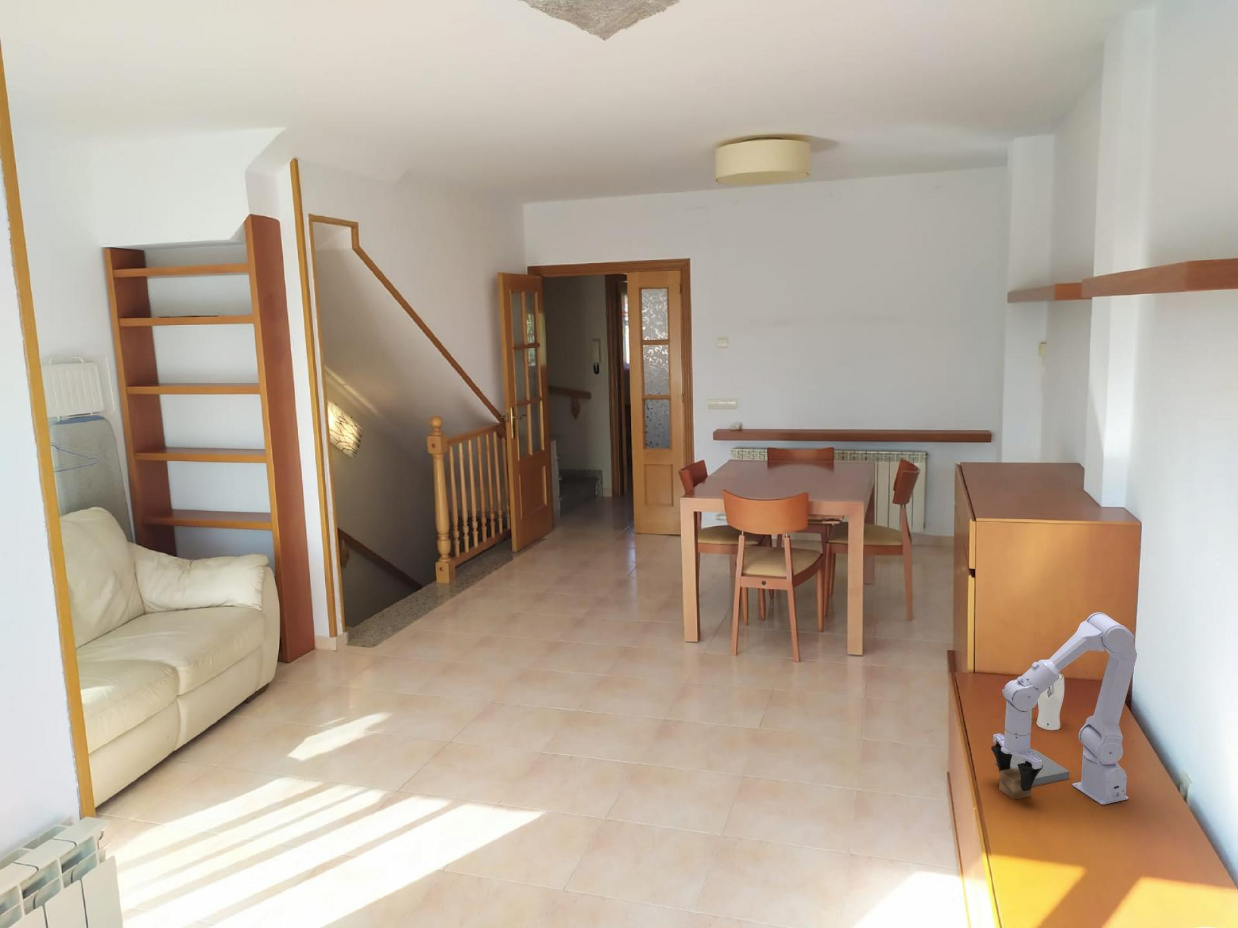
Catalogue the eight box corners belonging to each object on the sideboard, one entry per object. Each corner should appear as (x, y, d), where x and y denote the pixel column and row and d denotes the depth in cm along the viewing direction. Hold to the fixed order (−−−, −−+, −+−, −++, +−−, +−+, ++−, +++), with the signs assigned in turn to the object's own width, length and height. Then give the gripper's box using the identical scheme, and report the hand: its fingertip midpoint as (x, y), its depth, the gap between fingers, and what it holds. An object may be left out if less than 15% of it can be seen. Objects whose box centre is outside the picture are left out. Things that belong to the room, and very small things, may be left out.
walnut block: (1030, 796, 216) (1031, 777, 215) (1013, 799, 214) (1014, 780, 214) (1016, 785, 220) (1017, 767, 220) (999, 789, 219) (1000, 770, 218)
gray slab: (1068, 780, 223) (1069, 771, 223) (1029, 788, 220) (1029, 779, 219) (1034, 757, 234) (1034, 749, 234) (995, 765, 231) (996, 756, 231)
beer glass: (1059, 733, 246) (1062, 682, 244) (1032, 726, 250) (1034, 676, 248) (1064, 723, 252) (1067, 673, 249) (1037, 717, 256) (1040, 668, 253)
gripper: (983, 719, 220) (981, 770, 223) (1025, 746, 207) (1022, 799, 209) (1007, 715, 222) (1005, 765, 225) (1050, 741, 209) (1047, 794, 211)
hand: (1015, 781), depth 217 cm, fingers open, 7 cm apart
